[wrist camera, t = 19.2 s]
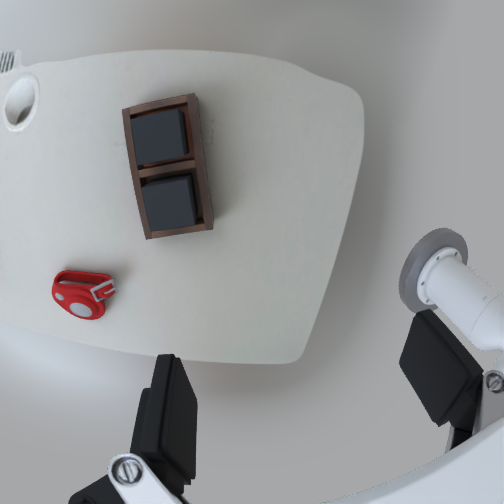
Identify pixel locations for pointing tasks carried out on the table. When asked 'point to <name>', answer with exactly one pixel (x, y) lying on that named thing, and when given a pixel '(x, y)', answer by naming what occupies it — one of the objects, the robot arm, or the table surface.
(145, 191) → the dark grey cube
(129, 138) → the frame
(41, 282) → the table surface
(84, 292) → the tracker holder
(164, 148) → the dark grey block
